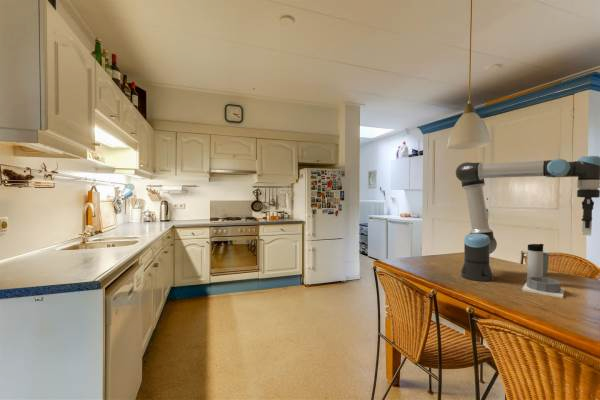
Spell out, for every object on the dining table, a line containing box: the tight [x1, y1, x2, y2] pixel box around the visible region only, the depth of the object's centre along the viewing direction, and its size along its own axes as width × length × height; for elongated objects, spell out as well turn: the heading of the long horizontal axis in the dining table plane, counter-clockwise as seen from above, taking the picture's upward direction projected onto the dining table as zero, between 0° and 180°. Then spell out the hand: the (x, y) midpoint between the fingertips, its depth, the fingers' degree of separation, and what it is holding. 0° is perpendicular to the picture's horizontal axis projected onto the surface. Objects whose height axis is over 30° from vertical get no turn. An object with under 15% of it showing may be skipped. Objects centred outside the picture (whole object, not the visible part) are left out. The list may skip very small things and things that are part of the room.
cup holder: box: [521, 276, 565, 299], centre depth 132 cm, size 14×14×5 cm
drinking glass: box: [525, 251, 550, 276], centre depth 162 cm, size 10×10×12 cm
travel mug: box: [526, 243, 545, 278], centre depth 145 cm, size 6×7×20 cm
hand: (586, 233), depth 133 cm, fingers open, 13 cm apart
